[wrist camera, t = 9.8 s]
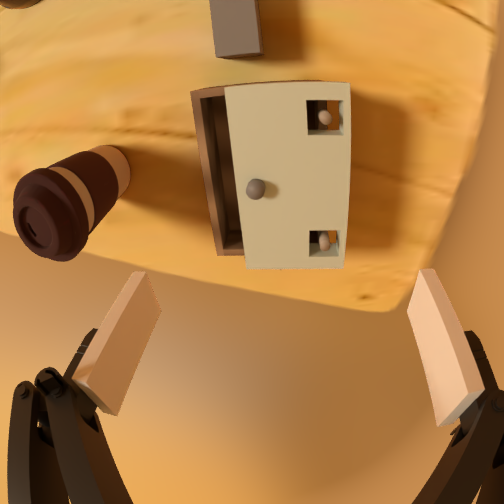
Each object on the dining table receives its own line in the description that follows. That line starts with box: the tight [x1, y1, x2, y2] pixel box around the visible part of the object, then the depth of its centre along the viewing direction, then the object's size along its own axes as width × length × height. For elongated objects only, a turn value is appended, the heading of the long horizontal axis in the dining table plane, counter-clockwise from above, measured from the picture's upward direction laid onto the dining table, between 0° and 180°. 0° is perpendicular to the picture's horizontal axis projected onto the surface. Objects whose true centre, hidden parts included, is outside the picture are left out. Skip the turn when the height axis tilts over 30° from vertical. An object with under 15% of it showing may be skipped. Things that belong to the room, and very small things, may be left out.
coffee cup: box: [13, 145, 131, 262], centre depth 28 cm, size 10×10×15 cm
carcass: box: [190, 80, 333, 256], centre depth 29 cm, size 18×12×8 cm
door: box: [224, 81, 351, 269], centre depth 26 cm, size 18×10×4 cm, turn 5°
